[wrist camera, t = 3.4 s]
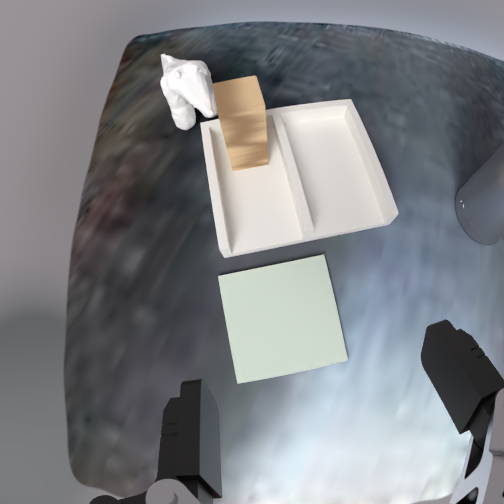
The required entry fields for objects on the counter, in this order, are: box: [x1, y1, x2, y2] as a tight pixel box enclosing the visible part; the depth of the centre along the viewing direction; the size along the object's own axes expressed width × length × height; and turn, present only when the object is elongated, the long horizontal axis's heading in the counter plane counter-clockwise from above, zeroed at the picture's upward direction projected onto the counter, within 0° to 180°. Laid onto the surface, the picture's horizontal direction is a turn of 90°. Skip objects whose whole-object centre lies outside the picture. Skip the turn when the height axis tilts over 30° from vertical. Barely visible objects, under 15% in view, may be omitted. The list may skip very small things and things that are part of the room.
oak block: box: [213, 76, 269, 172], centre depth 34 cm, size 4×4×11 cm
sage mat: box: [218, 255, 348, 383], centre depth 34 cm, size 12×12×1 cm
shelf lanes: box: [200, 99, 399, 258], centre depth 38 cm, size 20×17×4 cm
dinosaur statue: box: [161, 54, 218, 130], centre depth 39 cm, size 7×24×11 cm, turn 29°
